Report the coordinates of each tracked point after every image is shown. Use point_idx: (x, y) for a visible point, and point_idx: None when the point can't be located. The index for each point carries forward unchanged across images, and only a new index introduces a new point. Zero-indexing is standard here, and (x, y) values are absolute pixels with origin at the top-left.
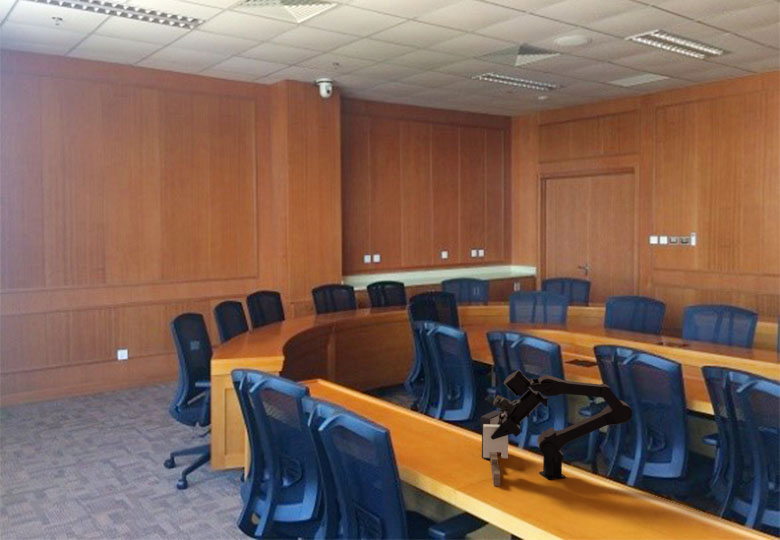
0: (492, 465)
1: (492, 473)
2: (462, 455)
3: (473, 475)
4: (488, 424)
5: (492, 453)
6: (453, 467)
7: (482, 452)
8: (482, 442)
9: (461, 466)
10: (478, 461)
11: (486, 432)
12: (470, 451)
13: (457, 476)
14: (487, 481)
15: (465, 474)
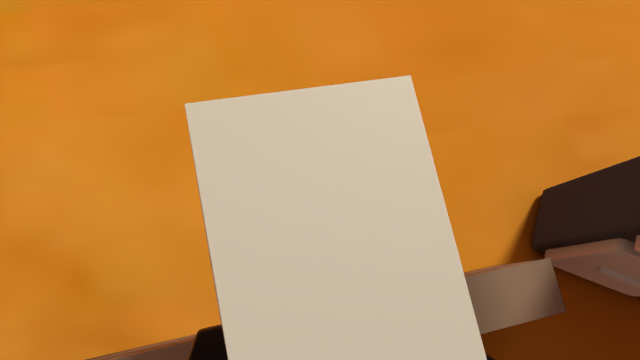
0: (190, 340)
1: (175, 340)
2: (539, 56)
3: (165, 183)
4: (442, 220)
5: (487, 287)
6: (291, 23)
7: (567, 186)
8: (632, 163)
9: (329, 74)
10: (471, 177)
11: (204, 222)
12: (632, 98)
13: (110, 70)
14: (51, 316)
15: (170, 121)
